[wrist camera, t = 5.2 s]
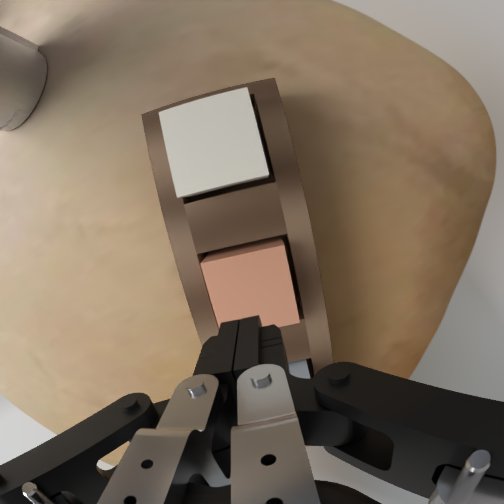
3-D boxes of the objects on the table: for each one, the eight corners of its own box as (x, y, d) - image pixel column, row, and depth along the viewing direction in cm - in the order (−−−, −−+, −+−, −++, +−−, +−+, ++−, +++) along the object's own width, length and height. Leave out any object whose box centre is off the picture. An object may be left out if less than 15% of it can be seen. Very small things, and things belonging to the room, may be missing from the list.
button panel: (161, 126, 21) (141, 114, 17) (272, 96, 20) (274, 77, 16) (238, 404, 25) (235, 432, 22) (330, 387, 25) (338, 414, 21)
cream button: (175, 124, 18) (158, 112, 14) (249, 104, 17) (247, 87, 14) (192, 196, 19) (177, 197, 15) (267, 177, 18) (269, 174, 15)
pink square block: (210, 251, 21) (200, 263, 17) (280, 235, 20) (284, 244, 17) (227, 315, 22) (222, 337, 18) (294, 302, 21) (299, 322, 18)
